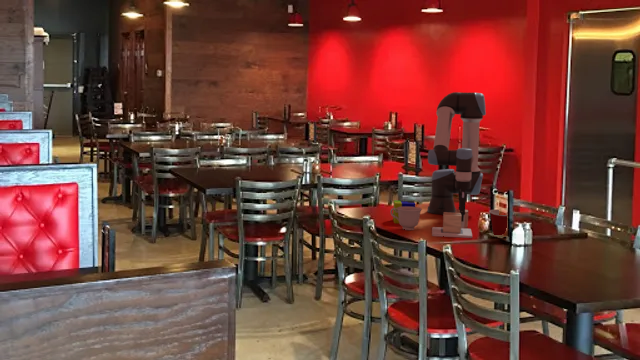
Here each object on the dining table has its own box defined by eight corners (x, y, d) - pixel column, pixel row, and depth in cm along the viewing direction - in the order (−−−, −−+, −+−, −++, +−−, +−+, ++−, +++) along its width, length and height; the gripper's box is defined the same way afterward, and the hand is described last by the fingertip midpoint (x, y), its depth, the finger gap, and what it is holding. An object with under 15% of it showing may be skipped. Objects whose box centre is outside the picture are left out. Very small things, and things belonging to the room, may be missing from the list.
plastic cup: (496, 240, 363) (497, 213, 361) (483, 235, 373) (484, 209, 371) (517, 239, 366) (518, 212, 365) (504, 234, 376) (505, 209, 375)
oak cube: (442, 229, 381) (443, 212, 380) (460, 229, 380) (460, 213, 379) (443, 232, 373) (443, 214, 372) (460, 232, 372) (461, 215, 371)
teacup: (391, 225, 393) (392, 205, 391) (422, 227, 390) (423, 207, 388) (388, 230, 381) (389, 209, 380) (420, 232, 378) (420, 210, 377)
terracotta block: (454, 225, 399) (455, 209, 398) (467, 226, 398) (467, 209, 397) (454, 227, 393) (455, 211, 392) (467, 228, 392) (468, 211, 391)
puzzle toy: (414, 223, 401) (415, 203, 399) (394, 223, 401) (395, 203, 400) (412, 220, 410) (413, 200, 409) (393, 219, 411) (393, 200, 409)
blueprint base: (432, 229, 387) (432, 226, 387) (470, 230, 384) (470, 228, 384) (432, 235, 369) (432, 233, 369) (472, 237, 367) (472, 235, 366)
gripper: (454, 177, 404) (452, 222, 406) (455, 182, 382) (453, 229, 385) (470, 178, 403) (468, 222, 405) (472, 183, 381) (469, 230, 384)
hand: (461, 226), depth 395 cm, fingers open, 9 cm apart
